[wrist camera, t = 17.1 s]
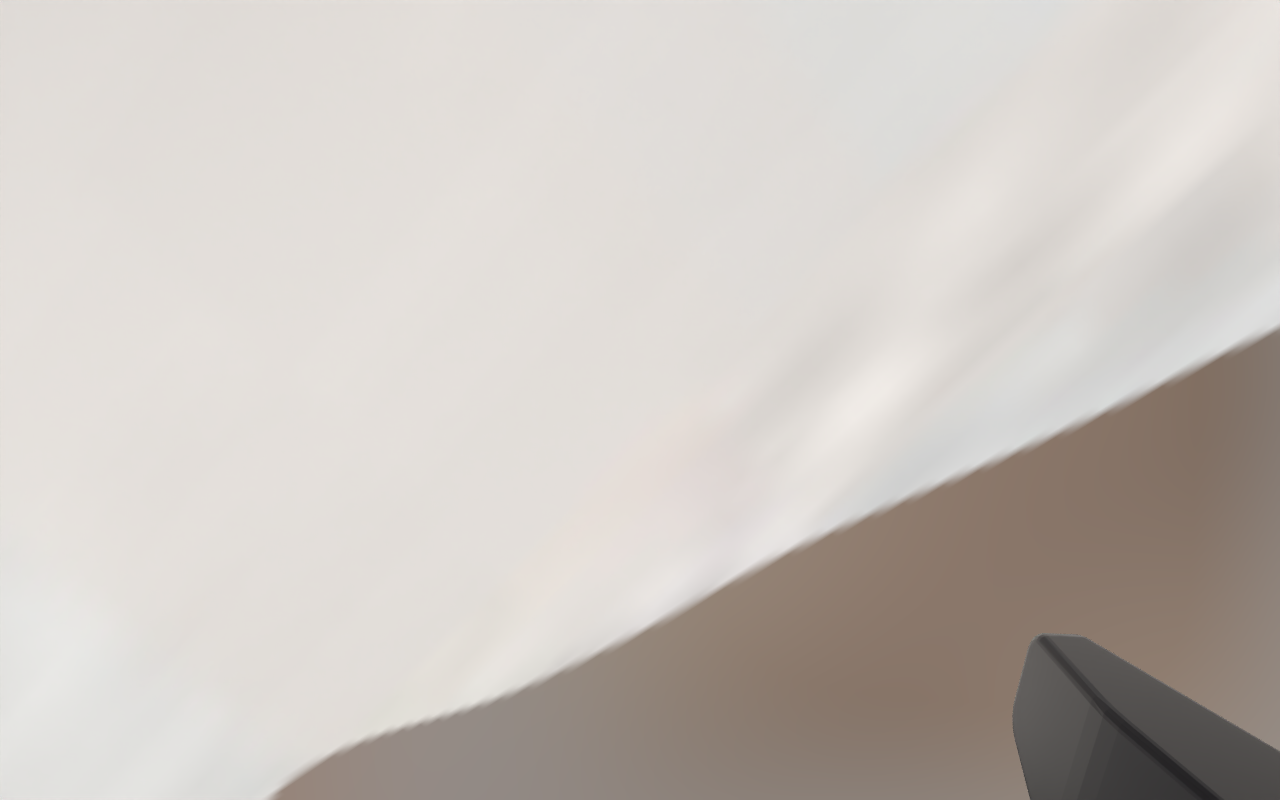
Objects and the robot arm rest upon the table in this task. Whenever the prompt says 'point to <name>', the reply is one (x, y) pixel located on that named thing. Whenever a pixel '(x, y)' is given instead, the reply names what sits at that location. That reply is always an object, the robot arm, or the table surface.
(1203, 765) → the robot arm
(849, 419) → the table surface
